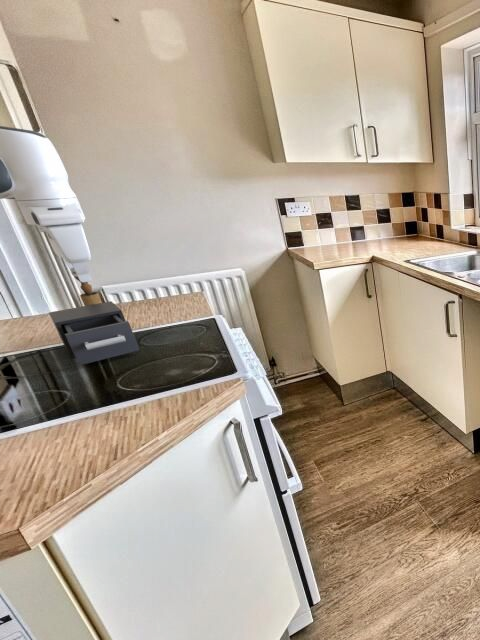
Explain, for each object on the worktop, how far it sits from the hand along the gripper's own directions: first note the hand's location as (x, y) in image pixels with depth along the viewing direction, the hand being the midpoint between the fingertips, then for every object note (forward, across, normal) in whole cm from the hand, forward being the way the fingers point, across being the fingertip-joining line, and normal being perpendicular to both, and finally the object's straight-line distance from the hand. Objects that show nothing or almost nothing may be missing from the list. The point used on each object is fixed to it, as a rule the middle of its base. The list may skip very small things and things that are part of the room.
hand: (82, 278), depth 93 cm
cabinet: (+22, -24, 0) cm, 32 cm away
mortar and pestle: (+22, -38, +3) cm, 44 cm away
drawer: (+21, -10, 0) cm, 23 cm away
